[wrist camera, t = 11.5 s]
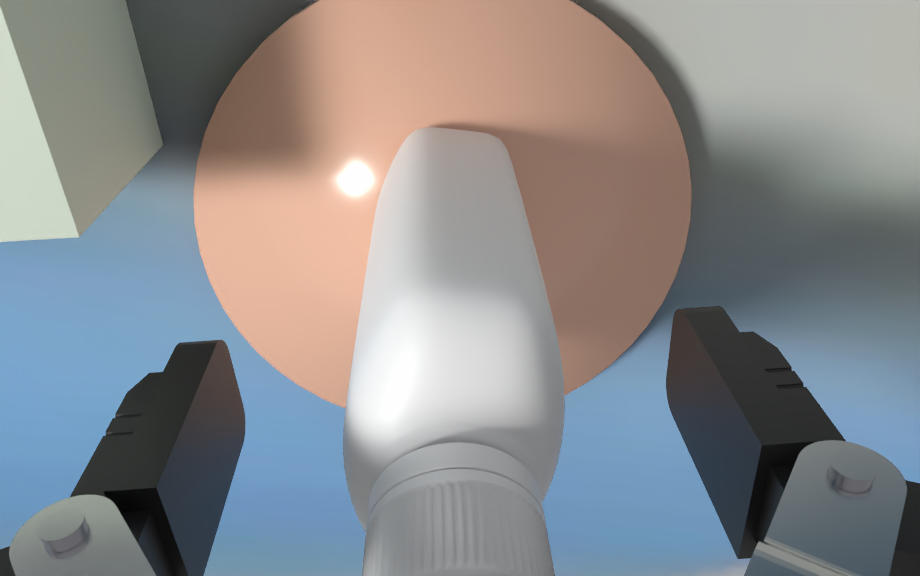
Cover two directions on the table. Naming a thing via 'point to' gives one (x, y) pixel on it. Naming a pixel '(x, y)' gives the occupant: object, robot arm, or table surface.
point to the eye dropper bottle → (453, 370)
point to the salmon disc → (443, 106)
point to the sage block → (69, 114)
